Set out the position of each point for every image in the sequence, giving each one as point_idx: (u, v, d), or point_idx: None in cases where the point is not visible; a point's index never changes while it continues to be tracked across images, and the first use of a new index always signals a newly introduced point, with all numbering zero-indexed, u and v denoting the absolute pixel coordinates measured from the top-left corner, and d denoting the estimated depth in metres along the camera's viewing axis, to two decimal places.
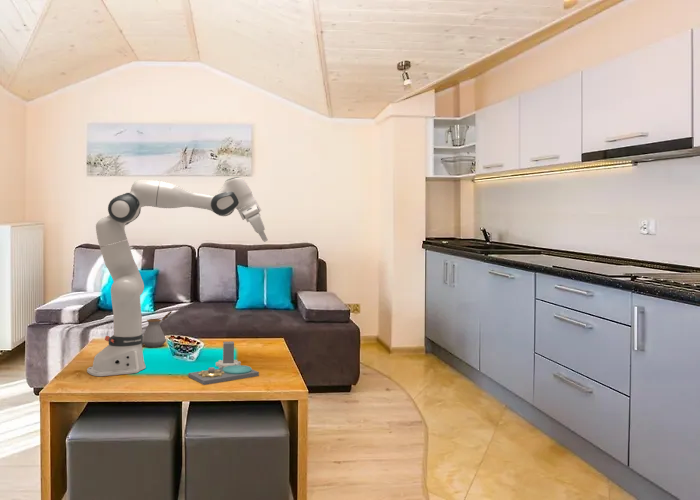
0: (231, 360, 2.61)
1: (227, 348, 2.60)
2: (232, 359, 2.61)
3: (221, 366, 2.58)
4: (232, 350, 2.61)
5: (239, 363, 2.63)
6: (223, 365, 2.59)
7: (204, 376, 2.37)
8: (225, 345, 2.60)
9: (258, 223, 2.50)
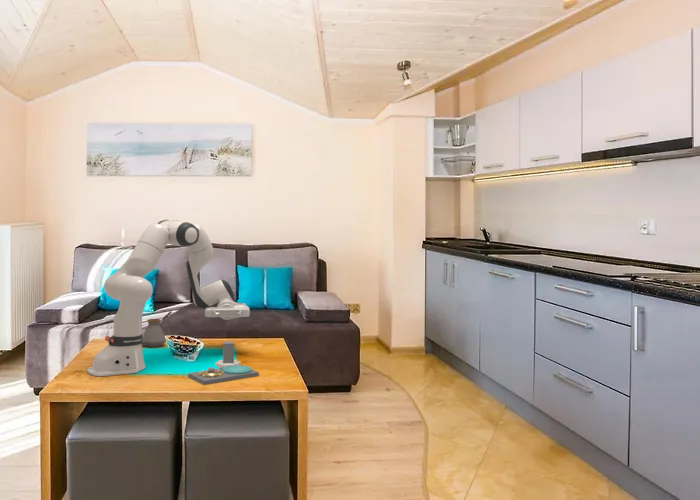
0: (231, 360, 2.61)
1: (227, 348, 2.60)
2: (232, 359, 2.61)
3: (221, 366, 2.58)
4: (232, 350, 2.61)
5: (239, 363, 2.63)
6: (223, 365, 2.59)
7: (204, 376, 2.37)
8: (225, 345, 2.60)
9: None
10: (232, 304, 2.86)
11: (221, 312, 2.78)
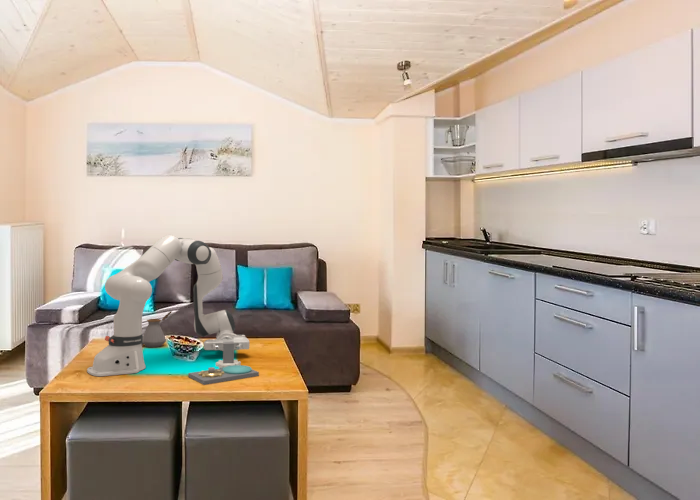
0: (231, 360, 2.61)
1: (227, 348, 2.60)
2: (232, 359, 2.61)
3: (221, 366, 2.58)
4: (232, 350, 2.61)
5: (239, 363, 2.63)
6: (223, 365, 2.59)
7: (204, 376, 2.37)
8: (225, 345, 2.60)
9: None
10: (231, 336, 2.82)
11: (220, 345, 2.75)
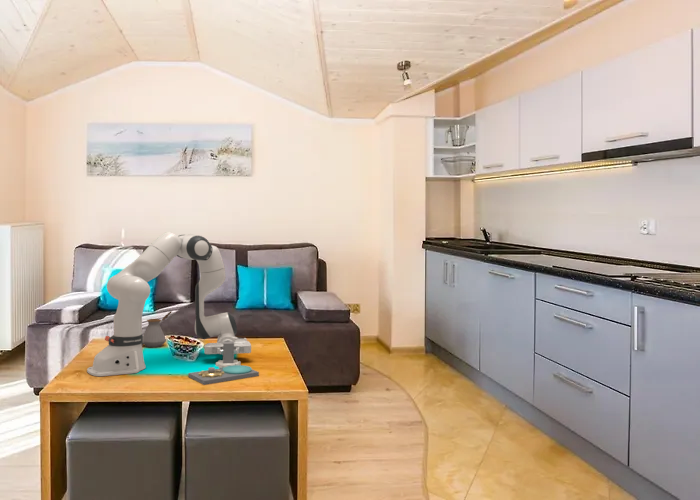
0: (231, 360, 2.61)
1: (227, 348, 2.60)
2: (232, 359, 2.61)
3: (221, 366, 2.58)
4: (231, 350, 2.61)
5: (239, 363, 2.63)
6: (223, 365, 2.59)
7: (204, 376, 2.37)
8: (225, 345, 2.60)
9: None
10: (233, 339, 2.74)
11: (221, 349, 2.66)
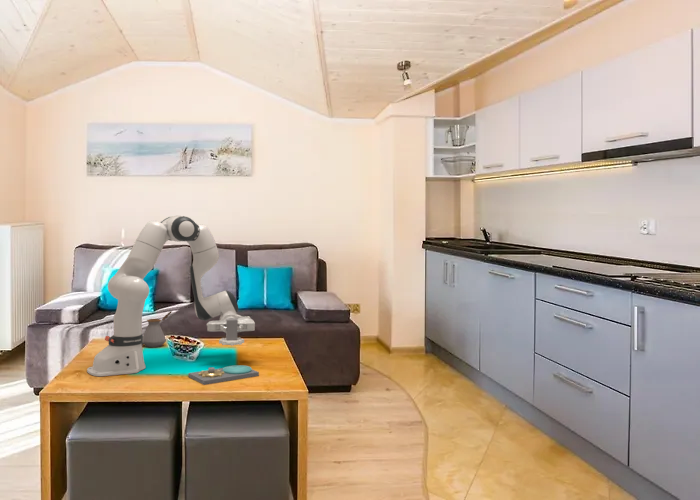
0: (234, 337, 2.56)
1: (230, 325, 2.55)
2: (235, 336, 2.56)
3: (224, 343, 2.53)
4: (235, 327, 2.55)
5: (243, 340, 2.58)
6: (226, 342, 2.53)
7: (204, 376, 2.37)
8: (228, 322, 2.55)
9: None
10: (236, 317, 2.69)
11: (224, 326, 2.61)
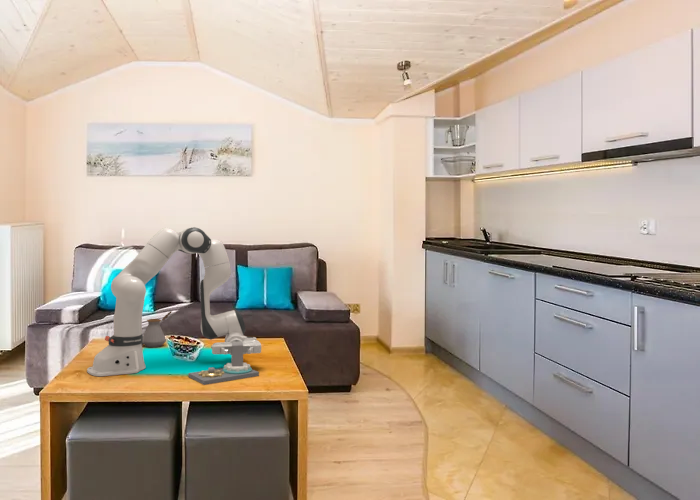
0: (240, 363, 2.47)
1: (236, 350, 2.46)
2: (241, 362, 2.47)
3: (230, 369, 2.44)
4: (241, 353, 2.46)
5: (248, 366, 2.49)
6: (232, 368, 2.44)
7: (204, 376, 2.37)
8: (234, 347, 2.46)
9: None
10: (242, 339, 2.60)
11: (230, 348, 2.52)
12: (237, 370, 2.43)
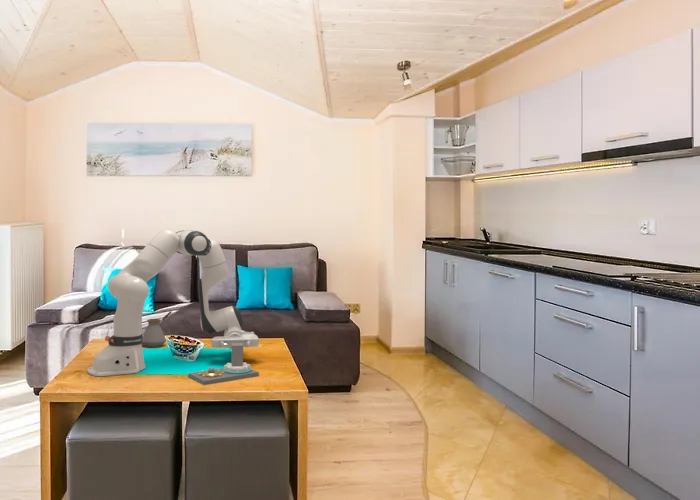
0: (240, 363, 2.47)
1: (236, 350, 2.46)
2: (241, 362, 2.47)
3: (230, 369, 2.44)
4: (241, 353, 2.46)
5: (248, 366, 2.49)
6: (232, 368, 2.44)
7: (204, 376, 2.37)
8: (234, 347, 2.46)
9: None
10: (240, 333, 2.72)
11: (229, 342, 2.64)
12: (237, 370, 2.43)
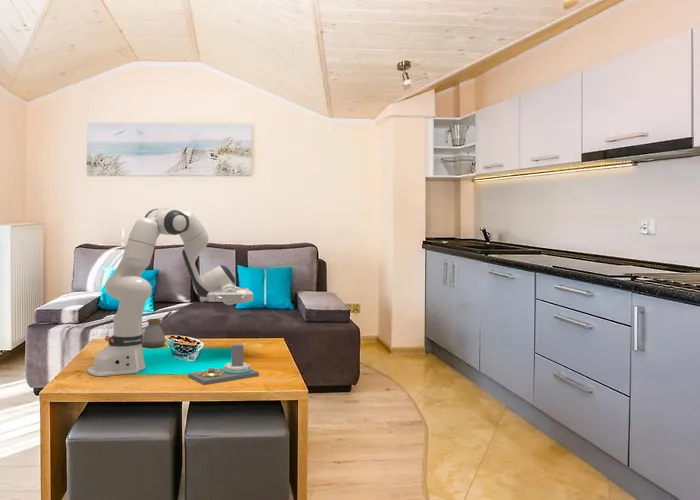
0: (240, 363, 2.47)
1: (236, 350, 2.46)
2: (241, 362, 2.47)
3: (230, 369, 2.44)
4: (241, 353, 2.46)
5: (248, 366, 2.49)
6: (232, 368, 2.44)
7: (204, 376, 2.37)
8: (234, 347, 2.46)
9: None
10: (235, 289, 2.80)
11: (224, 296, 2.72)
12: (237, 370, 2.43)
